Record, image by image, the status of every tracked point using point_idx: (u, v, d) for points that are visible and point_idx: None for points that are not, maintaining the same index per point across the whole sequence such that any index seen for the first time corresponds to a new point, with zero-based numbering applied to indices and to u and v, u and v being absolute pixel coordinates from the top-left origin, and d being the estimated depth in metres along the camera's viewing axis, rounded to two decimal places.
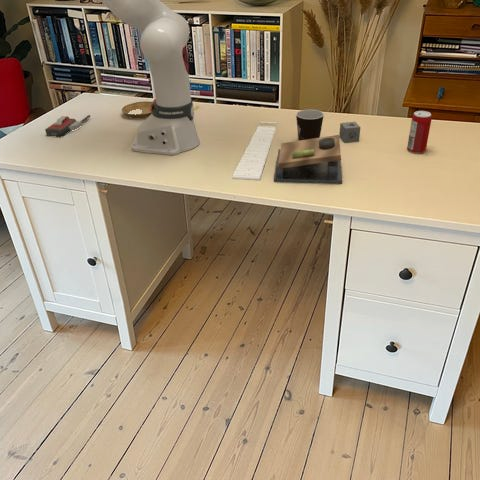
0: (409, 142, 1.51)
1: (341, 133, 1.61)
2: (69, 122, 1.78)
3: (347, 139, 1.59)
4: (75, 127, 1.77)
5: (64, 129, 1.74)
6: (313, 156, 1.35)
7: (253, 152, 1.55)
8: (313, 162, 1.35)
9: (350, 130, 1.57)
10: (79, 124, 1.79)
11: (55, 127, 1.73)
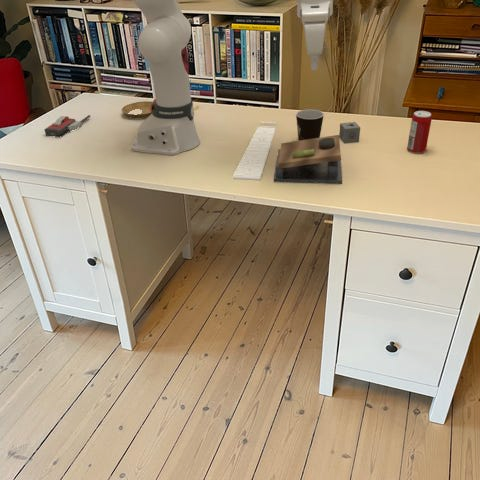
0: (409, 142, 1.51)
1: (341, 133, 1.61)
2: (68, 122, 1.77)
3: (347, 139, 1.59)
4: (74, 127, 1.77)
5: (63, 129, 1.74)
6: (313, 156, 1.35)
7: (253, 152, 1.55)
8: (313, 162, 1.35)
9: (350, 131, 1.57)
10: (78, 124, 1.79)
11: (54, 127, 1.73)
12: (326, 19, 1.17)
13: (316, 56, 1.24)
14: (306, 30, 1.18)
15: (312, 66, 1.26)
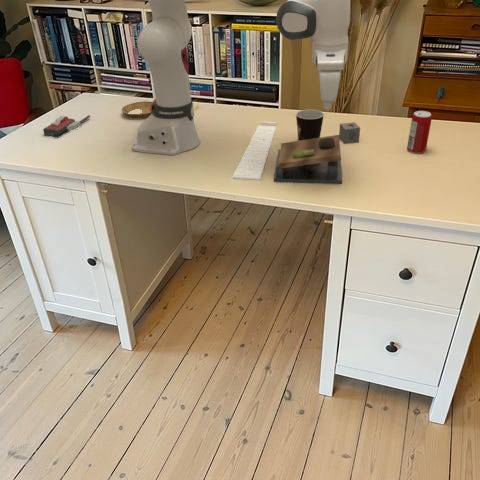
0: (409, 142, 1.51)
1: (341, 134, 1.60)
2: (67, 122, 1.77)
3: (347, 140, 1.59)
4: (73, 127, 1.77)
5: (62, 129, 1.74)
6: (313, 156, 1.35)
7: (253, 152, 1.55)
8: (313, 162, 1.35)
9: (350, 131, 1.57)
10: (77, 124, 1.79)
11: (53, 127, 1.73)
12: (341, 68, 1.18)
13: None
14: (321, 78, 1.19)
15: (325, 105, 1.31)
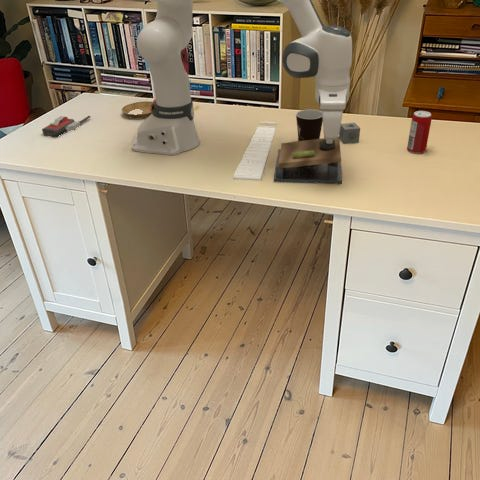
0: (409, 142, 1.51)
1: (341, 134, 1.60)
2: (67, 122, 1.77)
3: (347, 140, 1.58)
4: (72, 128, 1.77)
5: (60, 129, 1.74)
6: (313, 157, 1.35)
7: (253, 152, 1.55)
8: (313, 163, 1.35)
9: (350, 131, 1.57)
10: (77, 125, 1.79)
11: (51, 127, 1.74)
12: (343, 108, 1.24)
13: None
14: (324, 117, 1.25)
15: (327, 140, 1.36)
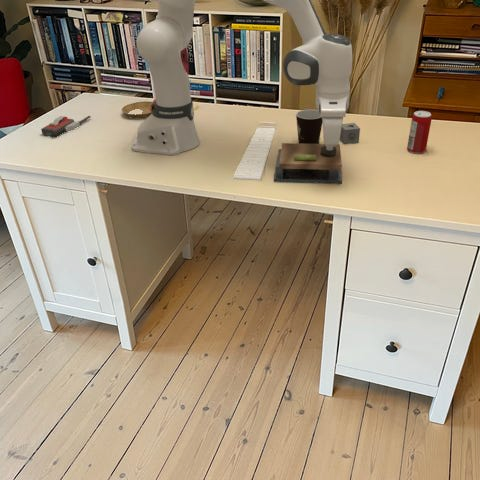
0: (409, 142, 1.51)
1: (340, 134, 1.60)
2: (66, 122, 1.77)
3: (347, 140, 1.58)
4: (71, 128, 1.77)
5: (59, 129, 1.74)
6: (314, 162, 1.36)
7: (253, 152, 1.55)
8: (314, 168, 1.36)
9: (350, 132, 1.57)
10: (76, 125, 1.78)
11: (51, 127, 1.74)
12: (343, 116, 1.25)
13: None
14: (324, 125, 1.26)
15: (327, 147, 1.38)
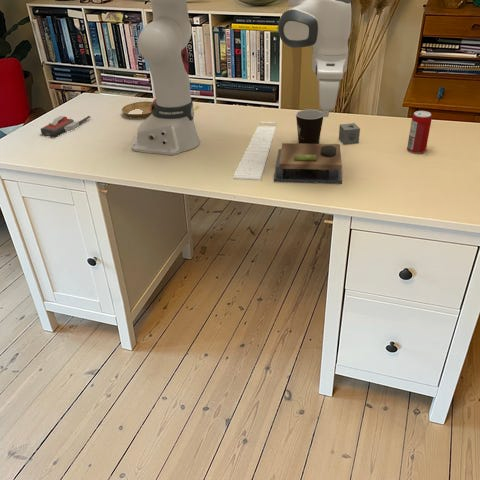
0: (409, 142, 1.51)
1: (340, 135, 1.60)
2: (65, 122, 1.77)
3: (347, 141, 1.58)
4: (71, 128, 1.77)
5: (58, 129, 1.74)
6: (314, 162, 1.36)
7: (253, 152, 1.55)
8: (314, 168, 1.36)
9: (350, 132, 1.56)
10: (75, 125, 1.78)
11: (50, 127, 1.74)
12: (340, 78, 1.20)
13: None
14: (320, 87, 1.21)
15: (323, 113, 1.33)
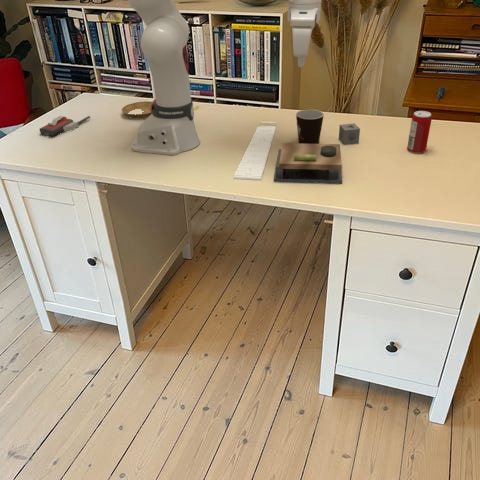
0: (409, 142, 1.51)
1: (340, 135, 1.60)
2: (65, 122, 1.77)
3: (347, 141, 1.58)
4: (70, 128, 1.77)
5: (57, 129, 1.74)
6: (314, 162, 1.36)
7: (254, 152, 1.55)
8: (314, 168, 1.36)
9: (350, 132, 1.56)
10: (75, 125, 1.78)
11: (49, 127, 1.74)
12: (312, 25, 1.27)
13: None
14: (294, 34, 1.28)
15: (299, 63, 1.40)
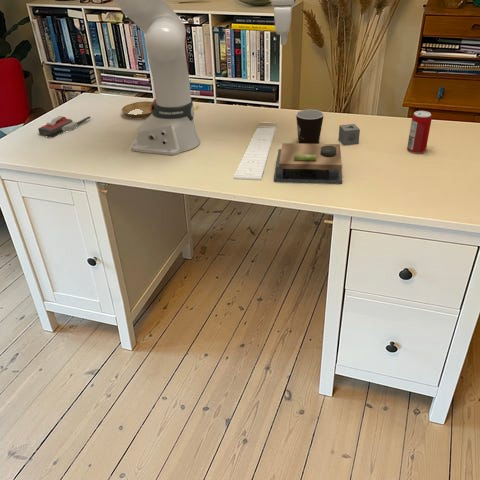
0: (409, 142, 1.51)
1: (340, 135, 1.59)
2: (64, 123, 1.77)
3: (346, 141, 1.57)
4: (68, 128, 1.76)
5: (56, 130, 1.74)
6: (314, 162, 1.36)
7: (254, 152, 1.55)
8: (314, 168, 1.36)
9: (350, 133, 1.56)
10: (74, 125, 1.78)
11: (47, 127, 1.74)
12: (292, 3, 1.37)
13: None
14: (275, 12, 1.38)
15: (281, 41, 1.50)
